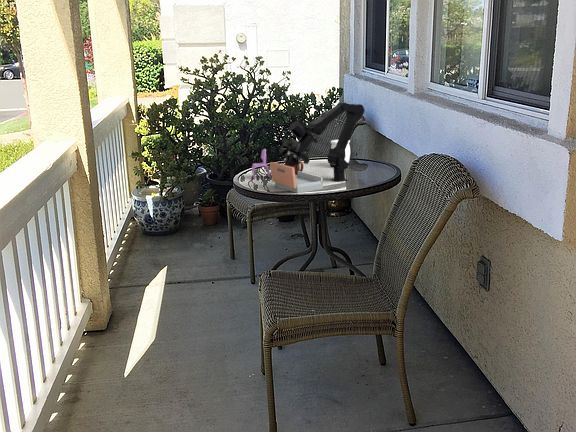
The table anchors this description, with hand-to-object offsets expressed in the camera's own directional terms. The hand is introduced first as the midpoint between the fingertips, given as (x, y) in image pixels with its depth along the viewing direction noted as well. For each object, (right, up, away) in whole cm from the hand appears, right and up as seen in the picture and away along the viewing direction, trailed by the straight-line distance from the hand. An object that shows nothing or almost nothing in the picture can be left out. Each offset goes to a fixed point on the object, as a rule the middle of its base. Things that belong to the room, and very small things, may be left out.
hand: (283, 169), depth 276 cm
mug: (+6, -3, +26) cm, 27 cm away
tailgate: (0, -7, +2) cm, 7 cm away
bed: (+7, -8, +6) cm, 12 cm away
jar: (+31, +5, +50) cm, 59 cm away
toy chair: (-12, -2, +33) cm, 35 cm away
